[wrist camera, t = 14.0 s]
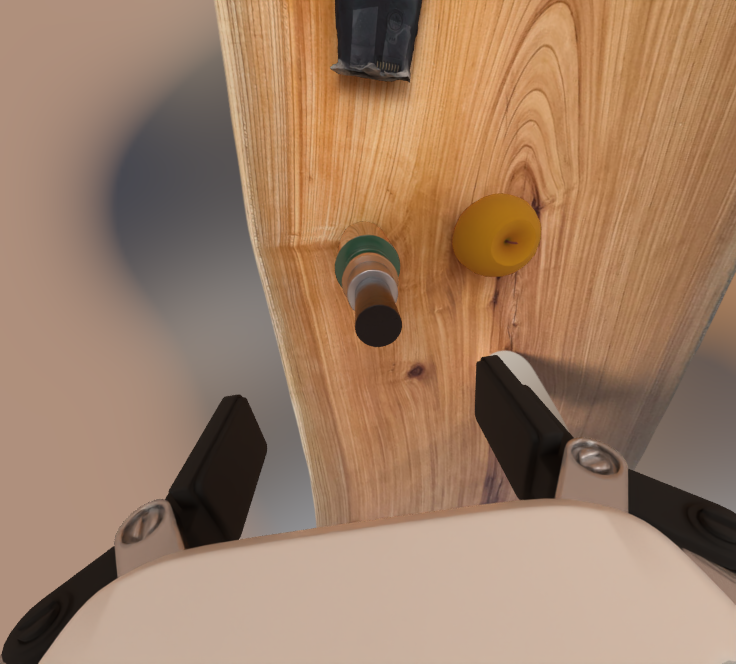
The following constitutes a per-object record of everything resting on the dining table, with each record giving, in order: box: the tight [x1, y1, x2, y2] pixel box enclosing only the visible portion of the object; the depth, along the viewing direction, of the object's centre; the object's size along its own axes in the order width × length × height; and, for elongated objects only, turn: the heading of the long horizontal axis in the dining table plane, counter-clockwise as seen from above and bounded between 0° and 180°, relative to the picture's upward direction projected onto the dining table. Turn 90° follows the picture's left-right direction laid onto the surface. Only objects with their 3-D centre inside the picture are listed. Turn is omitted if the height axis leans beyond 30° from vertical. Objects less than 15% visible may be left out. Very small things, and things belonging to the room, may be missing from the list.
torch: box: [347, 261, 402, 347], centre depth 22 cm, size 4×4×9 cm
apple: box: [452, 193, 541, 277], centre depth 36 cm, size 10×10×12 cm
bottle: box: [335, 221, 400, 299], centre depth 34 cm, size 7×7×17 cm
